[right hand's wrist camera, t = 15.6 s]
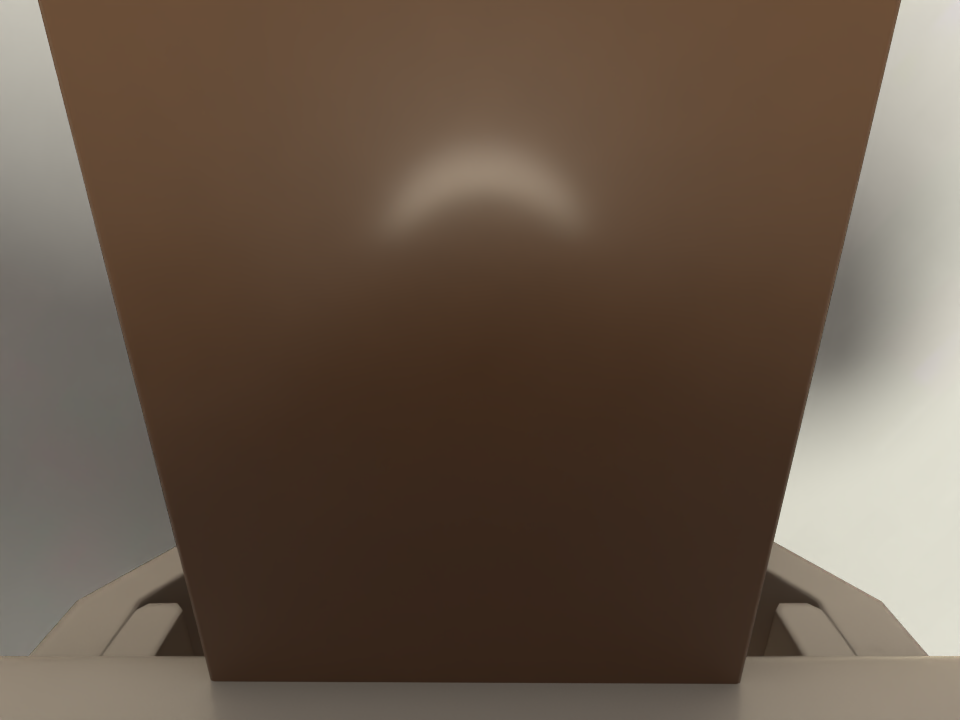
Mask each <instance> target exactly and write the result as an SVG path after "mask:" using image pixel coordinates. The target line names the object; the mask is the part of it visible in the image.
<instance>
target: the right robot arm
mask: <svg viewBox="0 0 960 720" xmlns="http://www.w3.org/2000/svg"><path fill="white" fill-rule="evenodd" d="M0 720H960V656H928V655H927V653H926V652H925V651H924V650H923V649H922V648H921V646H920V645H919V644H918V643H917V642H916V641H915V639H914V638H913V637H912V636H911V635H910V634H909V633H908V631H907V630H906V629H905V628H904V627H903V626H902V624H901V623H900V622H899V621H898V620H897V619H896V618H895V616H894V615H893V614H892V613H891V612H890V611H889V609H888V608H887V607H886V606H885V605H884V604H883V603H882V602H881V601H880V600H878V599H876V598H874V597H872V596H871V595H869V594H867V593H865V592H863V591H862V590H860V589H858V588H856V587H854V586H853V585H851V584H849V583H847V582H845V581H844V580H842V579H840V578H838V577H836V576H834V575H833V574H831V573H829V572H827V571H825V570H824V569H822V568H820V567H818V566H816V565H815V564H813V563H811V562H809V561H807V560H806V559H804V558H802V557H800V556H798V555H797V554H795V553H793V552H791V551H789V550H788V549H786V548H784V547H782V546H780V545H779V544H777V543H775V542H773V545H772V550H771V554H770V558H769V562H768V567H767V571H766V575H765V579H764V584H763V588H762V592H761V596H760V600H759V605H758V609H757V613H756V617H755V622H754V626H753V630H752V634H751V639H750V643H749V647H748V651H747V656H746V660H745V664H744V668H743V673H742V677H741V681H740V683H738V684H628V683H420V682H215V681H212V680H211V679H210V675H209V672H208V668H207V664H206V660H205V656H204V652H203V648H202V644H201V640H200V636H199V632H198V628H197V624H196V620H195V616H194V613H193V609H192V605H191V601H190V597H189V593H188V589H187V585H186V581H185V577H184V573H183V569H182V565H181V561H180V557H179V553H178V550H177V546H176V547H174V548H172V549H170V550H169V551H167V552H165V553H163V554H161V555H159V556H158V557H156V558H154V559H152V560H150V561H149V562H147V563H145V564H143V565H141V566H139V567H138V568H136V569H134V570H132V571H130V572H129V573H127V574H125V575H123V576H121V577H120V578H118V579H116V580H114V581H112V582H110V583H109V584H107V585H105V586H103V587H101V588H100V589H98V590H96V591H94V592H92V593H90V594H89V595H87V596H85V597H83V598H81V599H80V600H78V601H77V602H76V603H75V604H74V605H73V606H72V607H71V608H70V610H69V611H68V612H67V613H66V614H65V615H64V616H63V617H62V619H61V620H60V621H59V622H58V623H57V624H56V625H55V627H54V628H53V629H52V630H51V631H50V632H49V633H48V635H47V636H46V637H45V638H44V639H43V640H42V641H41V643H40V644H39V645H38V646H37V647H36V648H35V649H34V651H33V652H32V653H31V654H30V655H29V656H0Z"/></svg>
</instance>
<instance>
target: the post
mask: <svg viewBox="0 0 960 720" xmlns="http://www.w3.org/2000/svg"><path fill="white" fill-rule="evenodd" d="M38 2H39V6H40V10H41V14H42V18H43V22H44V26H45V30H46V34H47V38H48V42H49V46H50V50H51V54H52V57H53V61H54V65H55V69H56V73H57V77H58V81H59V85H60V89H61V93H62V97H63V101H64V105H65V109H66V113H67V117H68V120H69V124H70V128H71V132H72V136H73V140H74V144H75V148H76V152H77V156H78V160H79V164H80V168H81V172H82V176H83V180H84V183H85V187H86V191H87V195H88V199H89V203H90V207H91V211H92V215H93V219H94V223H95V227H96V231H97V235H98V239H99V242H100V246H101V250H102V254H103V258H104V262H105V266H106V270H107V274H108V278H109V282H110V286H111V290H112V294H113V298H114V302H115V305H116V309H117V313H118V317H119V321H120V325H121V329H122V333H123V337H124V341H125V345H126V349H127V353H128V357H129V361H130V365H131V368H132V372H133V376H134V380H135V384H136V388H137V392H138V396H139V400H140V404H141V408H142V412H143V416H144V420H145V424H146V427H147V431H148V435H149V439H150V443H151V447H152V451H153V455H154V459H155V463H156V467H157V471H158V475H159V479H160V483H161V487H162V490H163V494H164V498H165V502H166V506H167V510H168V514H169V518H170V522H171V526H172V530H173V534H174V538H175V542H176V546H177V550H178V553H179V557H180V561H181V565H182V569H183V573H184V577H185V581H186V585H187V589H188V593H189V597H190V601H191V605H192V609H193V613H194V616H195V620H196V624H197V628H198V632H199V636H200V640H201V644H202V648H203V652H204V656H205V660H206V664H207V668H208V672H209V675H210V679H211V680H212V681H215V682H420V683H628V684H738V683H740V681H741V677H742V673H743V668H744V664H745V660H746V656H747V651H748V647H749V643H750V639H751V634H752V630H753V626H754V622H755V617H756V613H757V609H758V605H759V600H760V596H761V592H762V588H763V584H764V579H765V575H766V571H767V567H768V562H769V558H770V554H771V550H772V545H773V541H774V537H775V533H776V528H777V524H778V520H779V516H780V511H781V507H782V503H783V499H784V494H785V490H786V486H787V482H788V478H789V473H790V469H791V465H792V461H793V456H794V452H795V448H796V444H797V439H798V435H799V431H800V427H801V422H802V418H803V414H804V410H805V405H806V401H807V397H808V393H809V388H810V384H811V380H812V376H813V372H814V367H815V363H816V359H817V355H818V350H819V346H820V342H821V338H822V333H823V329H824V325H825V321H826V316H827V312H828V308H829V304H830V299H831V295H832V291H833V287H834V282H835V278H836V274H837V270H838V266H839V261H840V257H841V253H842V249H843V244H844V240H845V236H846V232H847V227H848V223H849V219H850V215H851V210H852V206H853V202H854V198H855V193H856V189H857V185H858V181H859V176H860V172H861V168H862V164H863V160H864V155H865V151H866V147H867V143H868V138H869V134H870V130H871V126H872V121H873V117H874V113H875V109H876V104H877V100H878V96H879V92H880V87H881V83H882V79H883V75H884V70H885V66H886V62H887V58H888V54H889V49H890V45H891V41H892V37H893V32H894V28H895V24H896V20H897V15H898V11H899V7H900V3H901V0H38Z"/></svg>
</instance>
